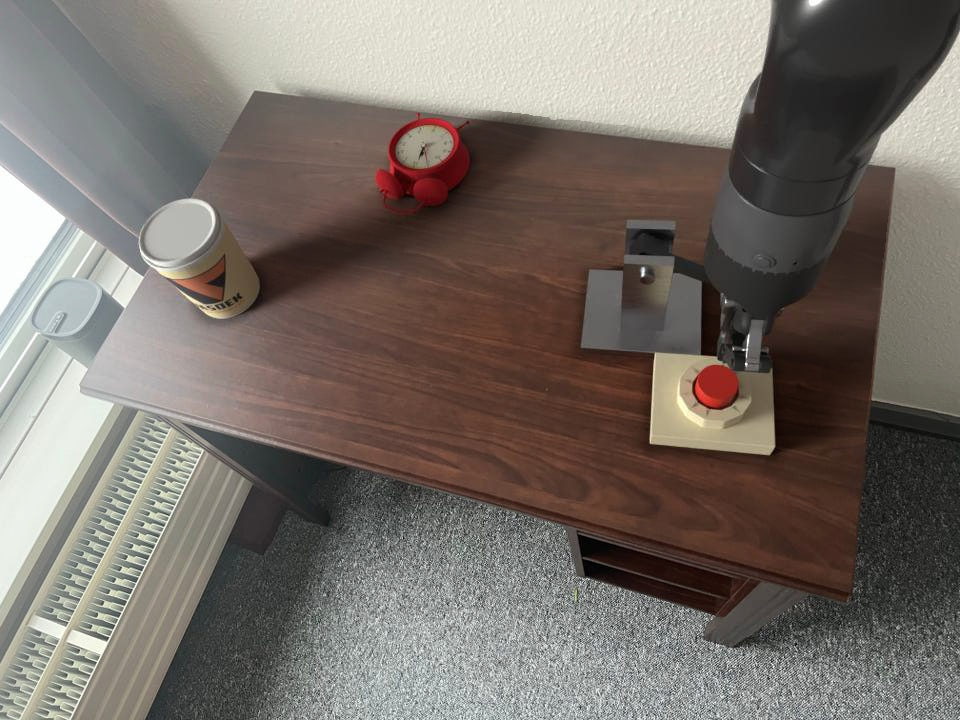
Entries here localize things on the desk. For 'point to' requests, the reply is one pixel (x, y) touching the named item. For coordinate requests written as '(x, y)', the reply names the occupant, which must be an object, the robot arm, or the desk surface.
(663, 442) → the control block
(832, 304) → the desk surface
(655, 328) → the bracket
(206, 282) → the cream tin can
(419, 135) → the alarm clock
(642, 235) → the lever
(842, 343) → the desk surface
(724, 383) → the button
